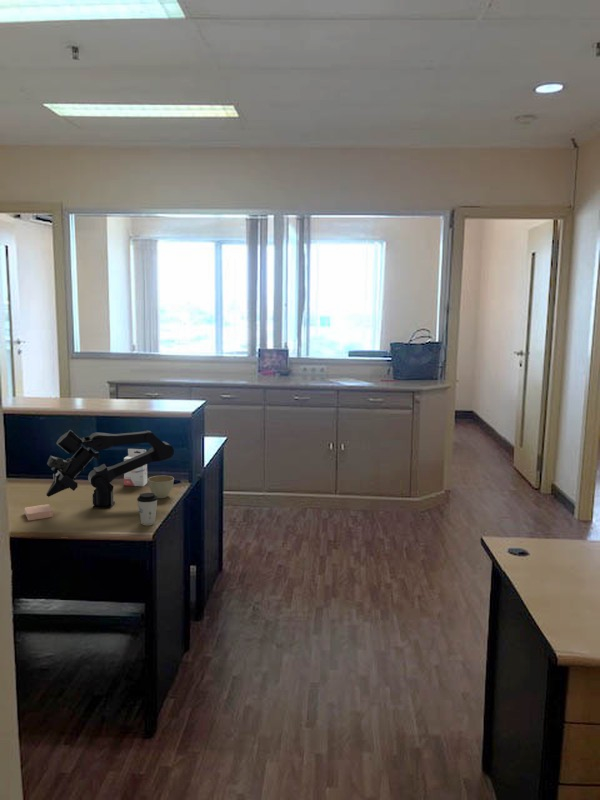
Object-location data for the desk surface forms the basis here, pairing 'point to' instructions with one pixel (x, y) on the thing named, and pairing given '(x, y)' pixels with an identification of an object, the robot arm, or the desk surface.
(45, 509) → the tile
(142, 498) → the coffee cup
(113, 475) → the robot arm
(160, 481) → the beige bowl
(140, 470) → the ink cartridge box
